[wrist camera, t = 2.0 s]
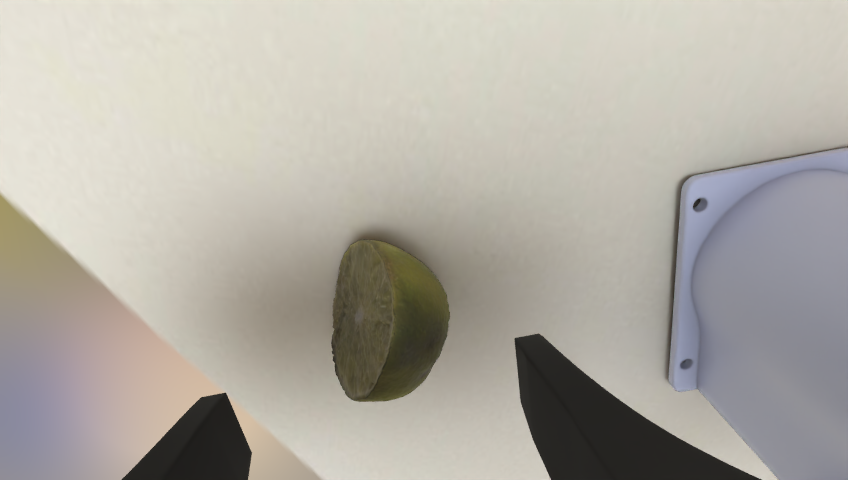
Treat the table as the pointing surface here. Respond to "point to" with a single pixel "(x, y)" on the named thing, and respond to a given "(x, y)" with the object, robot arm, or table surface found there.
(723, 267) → the robot arm
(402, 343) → the lime
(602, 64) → the table surface
